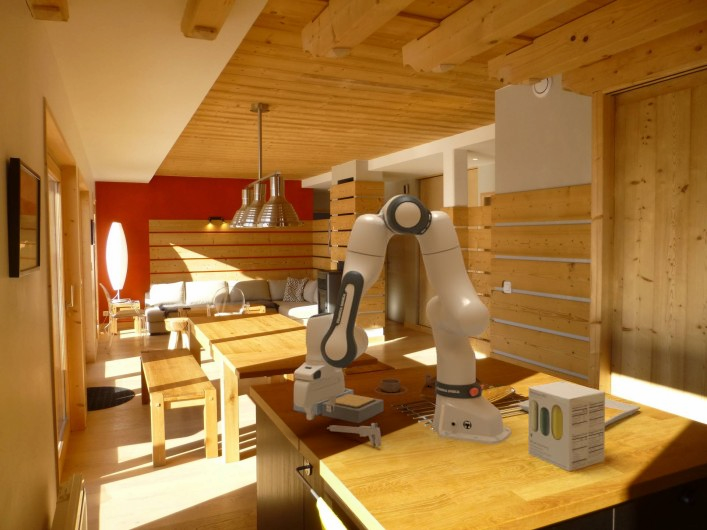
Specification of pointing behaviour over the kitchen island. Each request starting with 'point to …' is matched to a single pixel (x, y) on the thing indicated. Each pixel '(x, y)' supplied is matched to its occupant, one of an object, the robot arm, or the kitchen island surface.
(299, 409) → the tray
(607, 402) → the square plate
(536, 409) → the supplement box
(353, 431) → the caliper
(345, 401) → the button
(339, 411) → the square frame
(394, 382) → the place setting
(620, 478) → the kitchen island surface
